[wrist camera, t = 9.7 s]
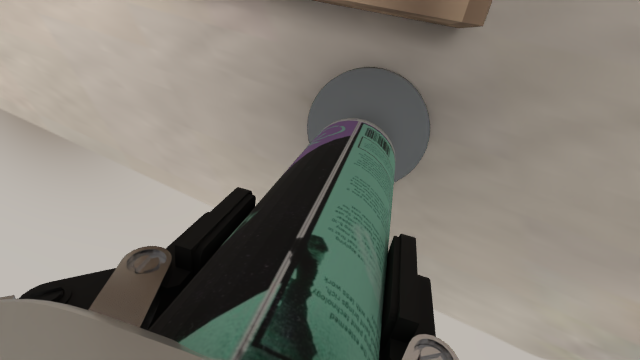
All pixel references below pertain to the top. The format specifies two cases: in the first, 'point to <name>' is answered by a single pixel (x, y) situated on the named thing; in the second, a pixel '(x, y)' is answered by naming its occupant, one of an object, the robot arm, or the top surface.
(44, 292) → the robot arm
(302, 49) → the top surface
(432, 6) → the wooden box
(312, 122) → the mat
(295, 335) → the spray can
